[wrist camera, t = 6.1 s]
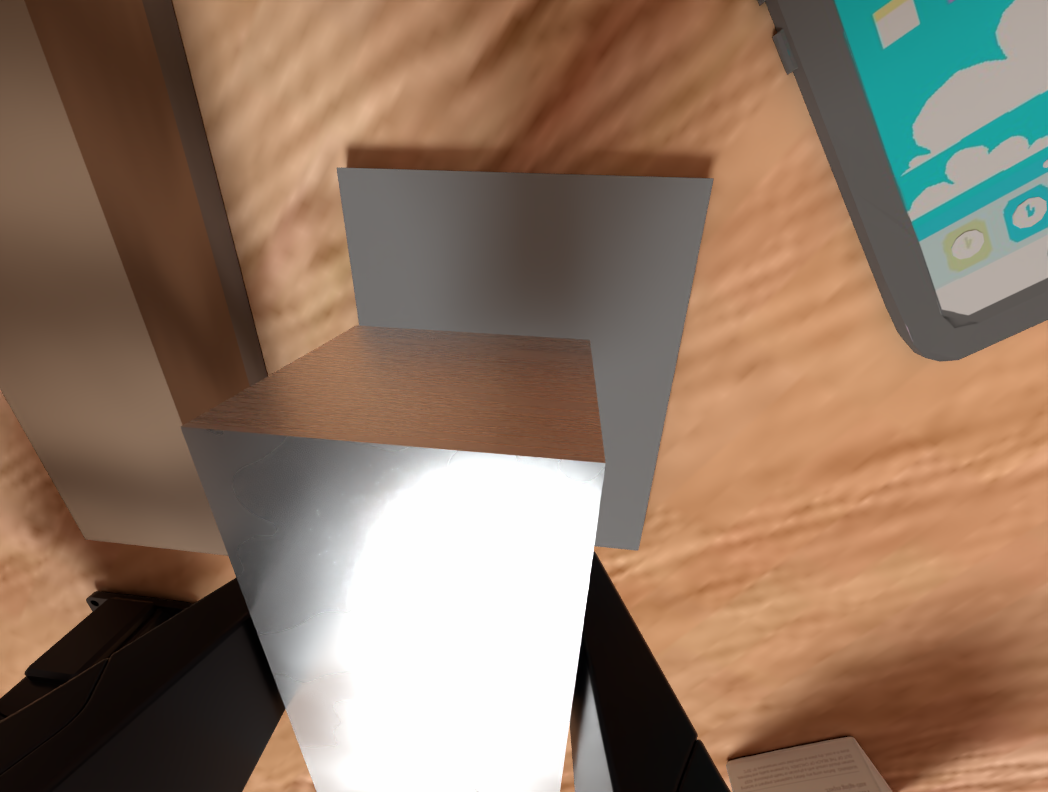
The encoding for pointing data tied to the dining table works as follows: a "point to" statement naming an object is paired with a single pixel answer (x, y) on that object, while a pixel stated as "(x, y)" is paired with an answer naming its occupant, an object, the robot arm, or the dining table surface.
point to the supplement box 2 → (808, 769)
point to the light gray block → (416, 550)
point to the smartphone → (935, 154)
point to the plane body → (114, 266)
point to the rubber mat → (543, 284)
